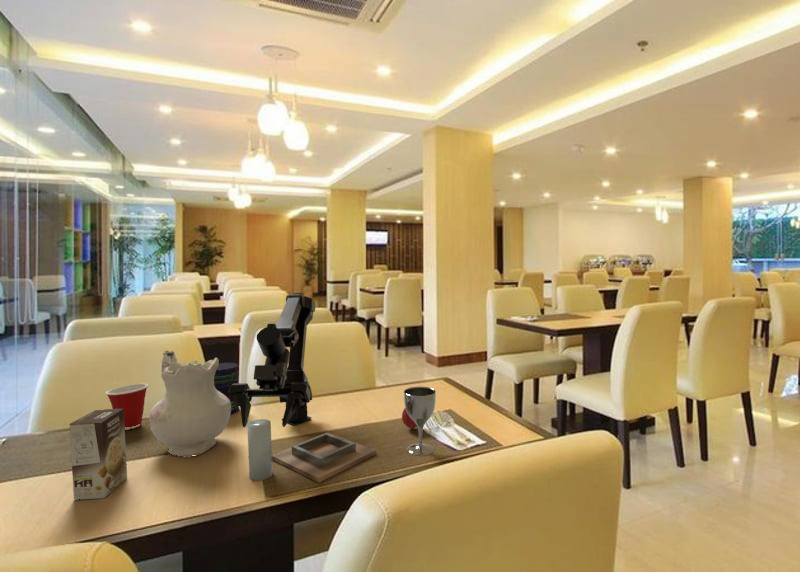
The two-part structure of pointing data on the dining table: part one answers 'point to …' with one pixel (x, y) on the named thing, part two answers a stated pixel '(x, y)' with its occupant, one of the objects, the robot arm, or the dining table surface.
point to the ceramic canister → (260, 449)
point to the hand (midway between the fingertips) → (263, 426)
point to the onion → (408, 420)
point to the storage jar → (226, 381)
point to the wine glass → (420, 414)
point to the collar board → (323, 456)
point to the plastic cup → (129, 402)
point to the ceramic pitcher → (189, 407)
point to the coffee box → (98, 453)
